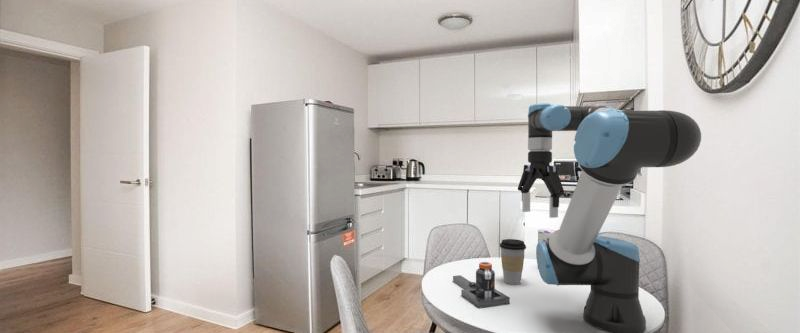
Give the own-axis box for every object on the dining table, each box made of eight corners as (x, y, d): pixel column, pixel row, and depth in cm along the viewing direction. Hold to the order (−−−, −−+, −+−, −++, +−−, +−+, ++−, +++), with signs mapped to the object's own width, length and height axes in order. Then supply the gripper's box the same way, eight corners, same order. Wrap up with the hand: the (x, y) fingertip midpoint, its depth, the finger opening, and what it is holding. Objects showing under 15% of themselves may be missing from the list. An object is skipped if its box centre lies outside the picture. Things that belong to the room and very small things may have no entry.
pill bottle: (494, 302, 118) (495, 266, 118) (475, 300, 120) (475, 265, 119) (494, 295, 124) (494, 261, 124) (475, 294, 125) (476, 260, 125)
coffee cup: (496, 283, 137) (496, 242, 137) (502, 276, 146) (502, 237, 145) (523, 287, 133) (523, 245, 133) (528, 280, 141) (528, 240, 141)
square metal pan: (509, 303, 118) (509, 294, 118) (478, 308, 115) (478, 299, 115) (469, 279, 142) (469, 272, 142) (443, 282, 139) (443, 274, 138)
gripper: (577, 150, 116) (576, 219, 116) (525, 151, 139) (524, 209, 140) (557, 150, 113) (556, 220, 114) (508, 151, 137) (507, 209, 137)
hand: (539, 214), depth 127 cm, fingers open, 13 cm apart
